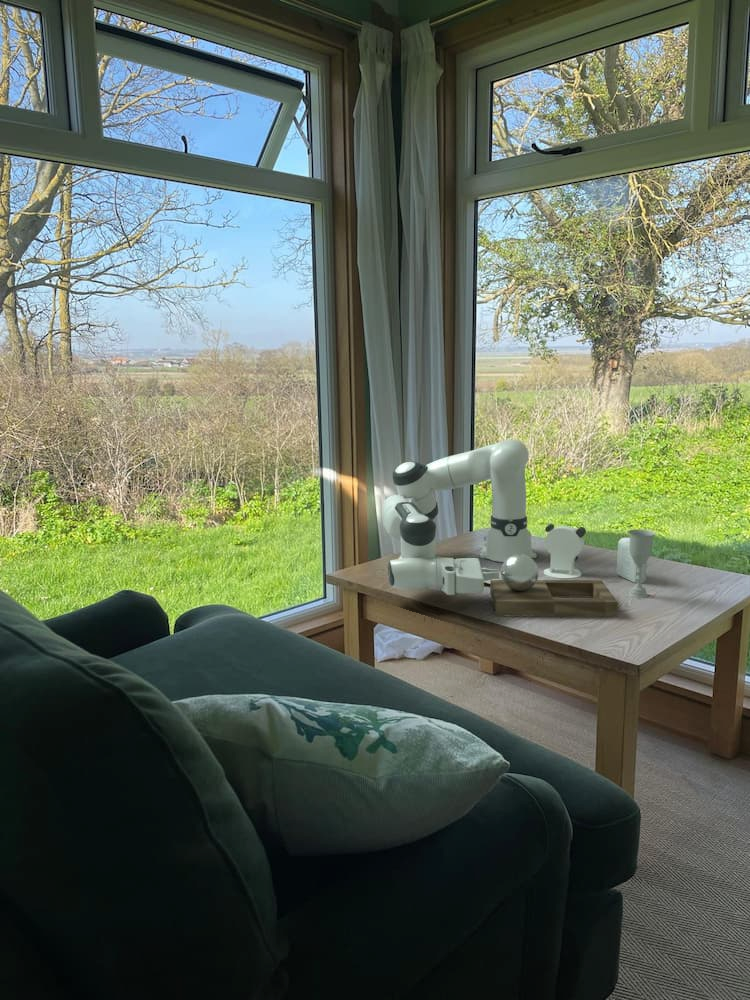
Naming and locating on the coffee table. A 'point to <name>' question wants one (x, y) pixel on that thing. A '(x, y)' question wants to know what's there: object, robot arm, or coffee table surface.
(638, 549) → the chalice
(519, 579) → the steel ball
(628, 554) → the white rounded block
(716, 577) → the coffee table surface
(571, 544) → the panda figurine
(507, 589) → the brown slotted slab
